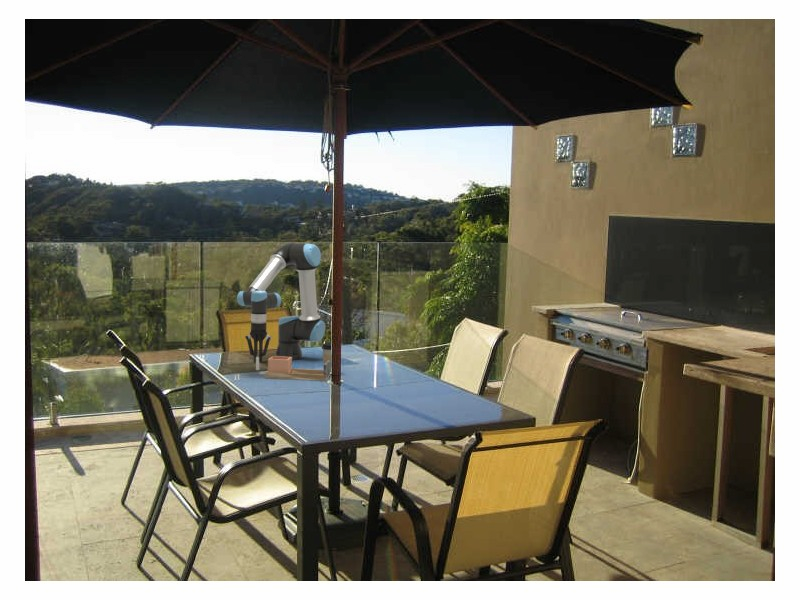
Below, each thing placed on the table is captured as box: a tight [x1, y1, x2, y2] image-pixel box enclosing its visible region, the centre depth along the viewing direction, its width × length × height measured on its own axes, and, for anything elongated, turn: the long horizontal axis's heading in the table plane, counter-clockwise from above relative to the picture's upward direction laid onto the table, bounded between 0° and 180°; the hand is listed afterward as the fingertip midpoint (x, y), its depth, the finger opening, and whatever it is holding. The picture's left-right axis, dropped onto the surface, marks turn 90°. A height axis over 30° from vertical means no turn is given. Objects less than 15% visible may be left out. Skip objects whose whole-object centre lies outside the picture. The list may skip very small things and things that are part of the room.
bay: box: [264, 360, 331, 382], centre depth 406 cm, size 12×30×8 cm, turn 85°
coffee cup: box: [321, 342, 332, 372], centre depth 418 cm, size 9×9×15 cm
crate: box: [267, 355, 293, 373], centre depth 407 cm, size 9×10×8 cm
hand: (258, 369), depth 408 cm, fingers closed
